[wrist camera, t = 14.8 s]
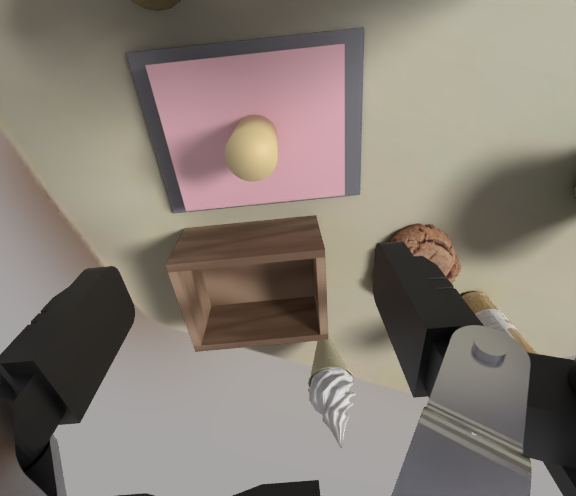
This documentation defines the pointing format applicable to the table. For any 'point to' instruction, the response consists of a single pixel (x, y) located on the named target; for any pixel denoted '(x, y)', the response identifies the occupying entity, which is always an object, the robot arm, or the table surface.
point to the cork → (156, 4)
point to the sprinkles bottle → (493, 317)
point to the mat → (346, 36)
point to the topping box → (251, 283)
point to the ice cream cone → (331, 388)
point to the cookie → (431, 247)
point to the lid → (255, 126)
